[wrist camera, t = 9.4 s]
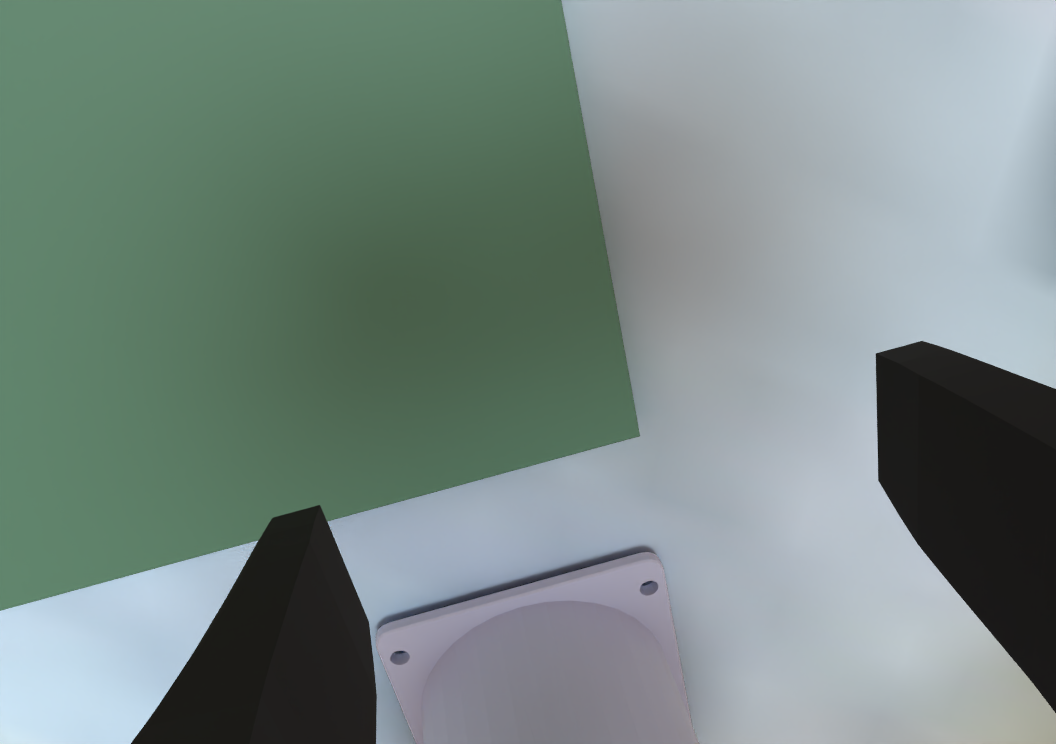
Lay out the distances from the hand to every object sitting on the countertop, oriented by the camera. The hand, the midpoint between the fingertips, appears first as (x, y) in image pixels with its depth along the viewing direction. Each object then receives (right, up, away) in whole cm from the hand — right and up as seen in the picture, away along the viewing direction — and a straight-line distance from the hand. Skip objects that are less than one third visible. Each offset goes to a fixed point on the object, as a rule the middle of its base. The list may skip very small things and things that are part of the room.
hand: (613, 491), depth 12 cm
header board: (-12, +6, +6) cm, 15 cm away
